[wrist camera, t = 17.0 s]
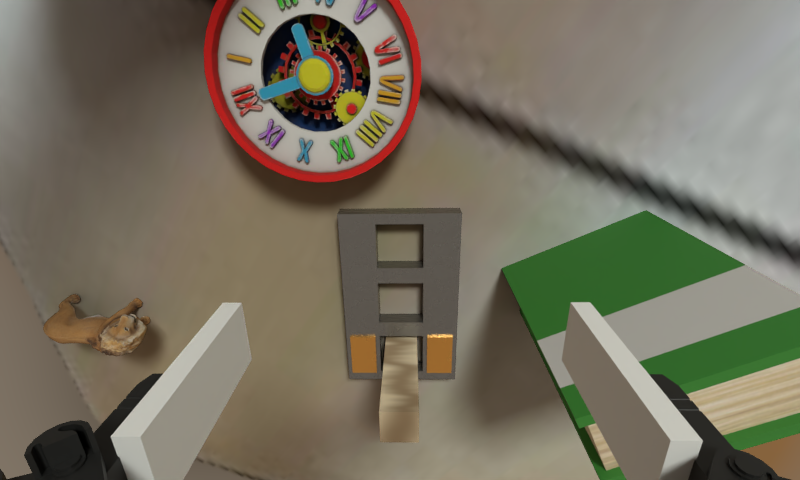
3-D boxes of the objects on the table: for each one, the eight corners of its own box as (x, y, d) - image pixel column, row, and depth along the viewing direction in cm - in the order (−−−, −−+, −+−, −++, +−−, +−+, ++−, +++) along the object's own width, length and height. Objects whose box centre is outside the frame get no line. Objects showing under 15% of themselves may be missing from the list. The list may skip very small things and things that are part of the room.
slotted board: (351, 368, 56) (349, 380, 54) (340, 208, 48) (336, 215, 46) (453, 369, 56) (455, 380, 54) (459, 208, 47) (462, 214, 45)
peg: (387, 356, 55) (380, 442, 42) (386, 331, 54) (378, 412, 41) (416, 357, 55) (418, 442, 42) (416, 331, 54) (418, 412, 41)
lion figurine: (166, 287, 52) (119, 327, 44) (177, 323, 54) (134, 367, 46) (56, 293, 53) (-10, 333, 45) (71, 328, 55) (10, 373, 47)
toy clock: (447, 147, 40) (260, 206, 42) (442, 139, 45) (277, 192, 48) (380, -94, 33) (162, -5, 35) (384, -69, 38) (195, 6, 41)
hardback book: (521, 315, 53) (604, 489, 30) (501, 268, 50) (575, 419, 28) (660, 263, 49) (866, 413, 27) (646, 210, 47) (859, 327, 25)
